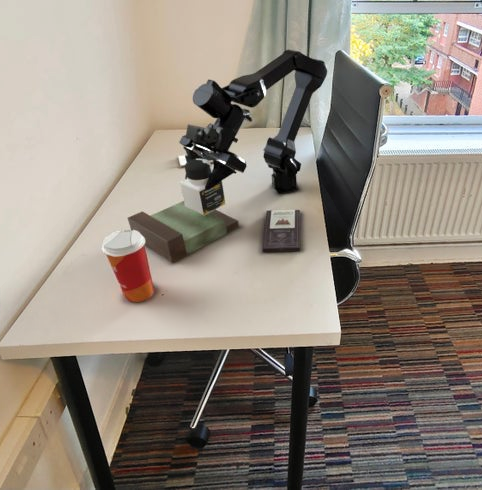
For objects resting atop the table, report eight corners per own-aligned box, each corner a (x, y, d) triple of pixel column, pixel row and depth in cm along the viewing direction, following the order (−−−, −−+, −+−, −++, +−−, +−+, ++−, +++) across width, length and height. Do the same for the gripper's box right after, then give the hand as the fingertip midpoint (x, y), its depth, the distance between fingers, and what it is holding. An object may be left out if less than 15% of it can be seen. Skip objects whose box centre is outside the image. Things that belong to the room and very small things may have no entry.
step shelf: (200, 207, 123) (196, 188, 119) (239, 227, 115) (236, 207, 112) (133, 238, 109) (127, 217, 106) (172, 263, 102) (167, 241, 98)
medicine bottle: (204, 216, 107) (195, 171, 100) (184, 207, 110) (174, 163, 103) (226, 204, 112) (219, 160, 105) (206, 196, 115) (198, 153, 108)
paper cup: (127, 282, 96) (108, 228, 88) (163, 281, 96) (148, 227, 88) (114, 307, 89) (93, 251, 81) (153, 305, 90) (136, 250, 82)
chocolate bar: (262, 248, 106) (266, 210, 120) (262, 252, 106) (266, 213, 121) (299, 247, 106) (299, 209, 121) (300, 250, 107) (299, 212, 122)
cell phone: (178, 157, 148) (178, 155, 148) (226, 151, 154) (226, 149, 154) (180, 167, 143) (180, 165, 142) (231, 160, 148) (230, 158, 148)
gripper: (178, 101, 105) (147, 159, 104) (230, 119, 96) (197, 183, 95) (210, 125, 114) (182, 178, 113) (260, 143, 105) (230, 201, 105)
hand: (196, 184), depth 106 cm, fingers closed on medicine bottle, 7 cm apart
